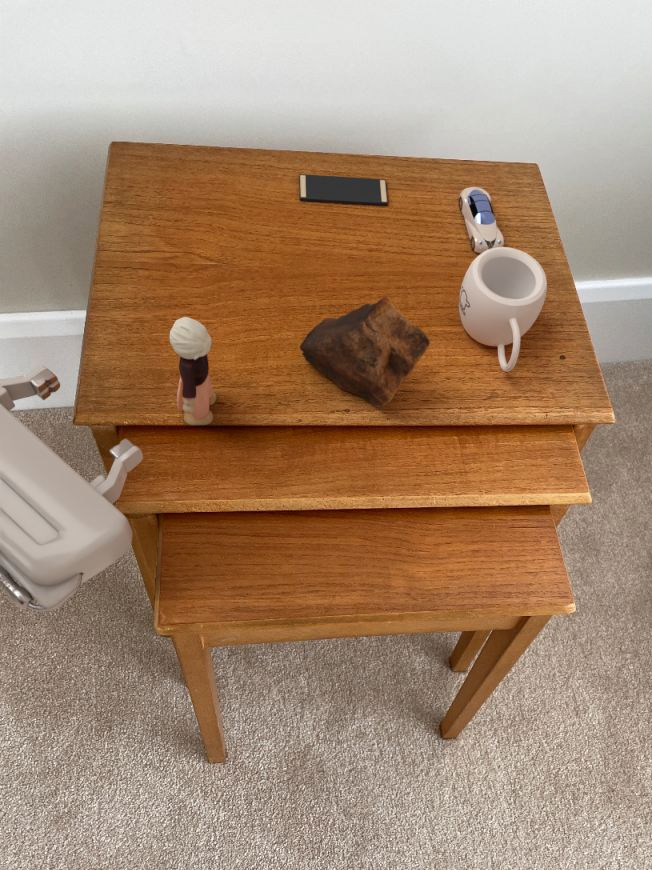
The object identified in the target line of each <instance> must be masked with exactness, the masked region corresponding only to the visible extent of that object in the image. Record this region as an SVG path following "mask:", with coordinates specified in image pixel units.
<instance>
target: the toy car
mask: <svg viewBox="0 0 652 870" xmlns="http://www.w3.org/2000/svg"><path fill="white" fill-rule="evenodd" d="M458 208H459V210H461V214H462V215H463V216H464V221H465V227H466V229H467V230H466V231H467V234H468V237H469V241H470V248H471V250H472V251H473V252H475V253H477V254H481V253H483V252H484V251H486V250H489V249H490V248H496V247H504V245H505V238H504V236H503V235H504V234H503V233H502V232H501V230H500V228H499V227H498V225H497V221H496V220H497V219H496V217H498V214H495V213H494V209H493V205H492V197H491V195H490V193H489V192H488V191H487V190H486V189H484V188H482V187H479V186H470V187H466V188H464V189H462V190H461V192H460V194H459V196H458Z"/></svg>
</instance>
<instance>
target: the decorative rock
mask: <svg viewBox="0 0 652 870" xmlns="http://www.w3.org/2000/svg"><path fill="white" fill-rule="evenodd" d="M431 343H432V341H431V338H430V337H429V336H428V335H427V334H426V333H425V331H424V330H423V328H422V327H419V326H416V325H414V323H413V322H412V321H411V320H410V319H408V318H407V317H406V316H405V315H403V314H402V312H401V311H399V310H398V309H397V308H396V307H395V305H394V304H393V302H392V301H391V300H390V298H388V297H382V298H381V299H379V300H378V301H377V302H375V303H366V304H363V305H361V306H360V307H358V308H356V309H354V310H351V311H350V312H348V313H346V314H342V315H340V316H339V317H338V318H331V317H330V318H329V317H327V318H324V319H323V320H321V322H320V323H318V324H317V325H316V326H314V327H313V328H312V330H310V331H309V332H308V333H307V334H306V336H305V338H304V339H303V340H302V342H301V343H300V346H299V349H300V350H301V351H302V353H301V355H302V356H303V357H304V359H305V361H306V362H308V363H309V364H311V365H312V366H313V367H314V368H315V369H316V370H317V371H318V372H320V374H321V375H322V376H325V377H326V378H328V379H330V380H331V381H332V382H333V383H334V384H335V385H336V386H337V387H339V388H340V390H343V391H345V392H349V393H352V394H355V395H357V396H361V397H362V398H363V399H364V400H365V401H366V402H368V403H369V404H371V405H372V406H374V407H377V408H379V407H380V408H381V407H383V406H385V405H387V404H388V403H389V402H391V401H392V400H393V397H394V396H395V394H396V393H397V391H398V389H400V387H401V385H402V384H403V381H404V380H405V379H406V377H408V376H409V375H410V374H411V372H412V371H413V370H414V369H415V367H416V365H417V364H418V362H419V361H420V360H421V359H422V358H423V356H424V355H425V353H426V351H427V350H428V349H429V347H430V345H431Z"/></svg>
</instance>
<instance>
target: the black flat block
mask: <svg viewBox="0 0 652 870" xmlns="http://www.w3.org/2000/svg"><path fill="white" fill-rule="evenodd" d="M298 180H299V182H298V183H299V184H298V186H299V187H298V188H299V201H300V202H311V203H328V204H329V203H331V204H345V205H346V204H347V205H365V206H366V205H367V206H381V207H383V206H384V207H388V204H389V202H388V201H389V200H388V190H387V178H386V179H385V178H369V177H353V176H336V175H322V174H321V175H319V174H305V173H299V176H298Z"/></svg>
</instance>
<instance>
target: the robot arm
mask: <svg viewBox="0 0 652 870" xmlns="http://www.w3.org/2000/svg"><path fill="white" fill-rule="evenodd" d="M60 388H61V382H60V381H59V378H58V376H57V375H56V374H54V373H53V371H51V370H50V369H49V368H47V366H45V365H39V366H38V367H36V368H35V369H34V370H32V371H31V372H29V373H28V374H26V375H25V376H24V375H20V376H14V377H6V378H0V589H1V591H3V592H4V593H5V594H6V595H7V596H8V598H9V599H10V601H11V602H12V603H13V604H14V605H15V606H17V607H18V608H19V609H21V610H23V611H25V610H28V609H29V610H31V611H34V612H41V613H42V612H43V613H44V612H50V611H51V612H52V611H54V610H56V609H58V608H59V607H61V606H62V605H63V604H64V603H65V602H67V600H69V599H70V598H71V597H72V596H73V595H75V594H76V592H77V591H78V590H79V589H80V586H81V585H82V584H84V583H85V582H87V581H89V580H90V579H92V578H93V577H95V576H97V575H98V574H100V573H101V572H102V571H104V570H105V569H107V568H108V567H109V566H111V565H112V564H113V563H115V562H116V561H117V560H119V559H120V558H122V557H123V556H124V555H125V554H126V553H127V552H128V551H129V550H130V549H131V546H132V543H133V537H134V531H133V530H132V529H133V528H132V527H131V524H130V523H129V520H128V518H127V516H126V515H125V514H124V513H123V512H121V511H120V510H119V508H117V507H116V506H115V505H114V503H115V502H117V501H118V500H119V499H120V497H121V494H122V492H123V489H124V486H125V483H126V480H127V478H128V473H129V472H131V471H132V470H133V469H135V468H136V467H137V466H138V465H139V464H140V463H141V462H142V461H143V460H144V454H143V451H142V450H141V448H140V447H138V446H137V445H136V444H135V443H134V442H132V440H130V439H129V438H127V437H126V438H124V439H122V440H120V442H119V444H116V445H114V446H113V447H111V448H110V449H109V451H108V452H109V454H110V456H111V459H112V463H113V464H111V465H112V466H111V467H110V470H109V472H108V475H107V477H105V476H104V475H103V474H98V476H97V477H95V478H94V479H93V480H91V481H90V482H88V481H87V480H86V479H85V478H84V477H83V476H82V475H81V474H79V473H78V472H77V471H76V470H75V469H74V468H73V467H72V466H71V465H69V464H68V463H67V462H66V461H65V460H64V459H63V458H62V457H60V456H59V455H58V454H57V452H55V451H54V450H53V449H51V448H50V446H48V445H47V444H46V443H45V442H44V441H43V440H42V439H40V438H39V436H37V435H36V434H35V433H34V432H33V431H32V430H31V429H30V428H29V427H27V426H26V425H25V424H24V423H23V422H22V421H21V420H19V419H18V418H17V417H16V416H15V415H14V414H13V413H12V412H11V410H13V409H14V408H16V404H15V403H14V401H17V400H21V399H22V400H23V399H26V398H30V397H34V396H38V397H39V398H40V399H41V400H42V401H45V400H46V399H48V398H49V397H51V395H52V393H56V392H57V391H59V390H60ZM35 600H36V601H37V603H38V605H37V604H35ZM39 604H40V605H39Z"/></svg>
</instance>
